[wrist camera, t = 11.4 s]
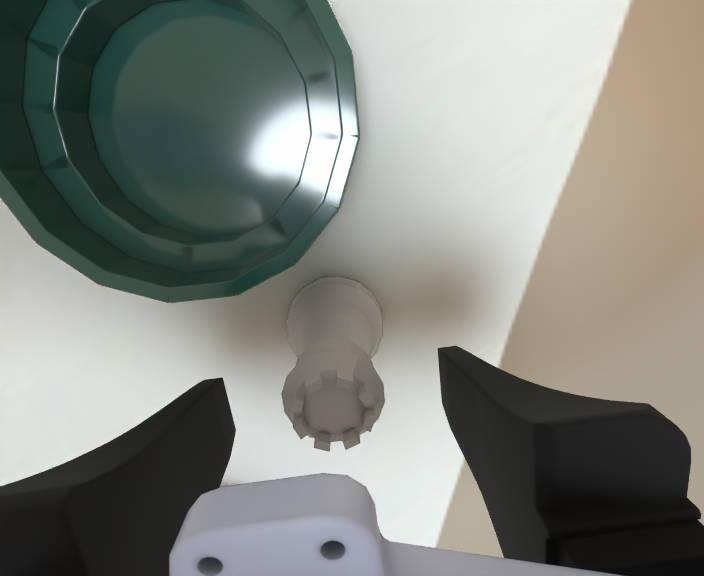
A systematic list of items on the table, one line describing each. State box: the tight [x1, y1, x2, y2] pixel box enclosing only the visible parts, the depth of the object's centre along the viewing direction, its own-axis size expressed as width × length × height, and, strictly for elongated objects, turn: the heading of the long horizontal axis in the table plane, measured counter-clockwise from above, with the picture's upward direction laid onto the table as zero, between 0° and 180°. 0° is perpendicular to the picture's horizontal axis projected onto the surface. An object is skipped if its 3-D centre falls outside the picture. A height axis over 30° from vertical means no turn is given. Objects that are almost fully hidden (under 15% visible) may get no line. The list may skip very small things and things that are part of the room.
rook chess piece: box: [282, 276, 385, 451], centre depth 16 cm, size 4×4×8 cm
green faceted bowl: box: [0, 0, 360, 303], centre depth 15 cm, size 12×12×4 cm
